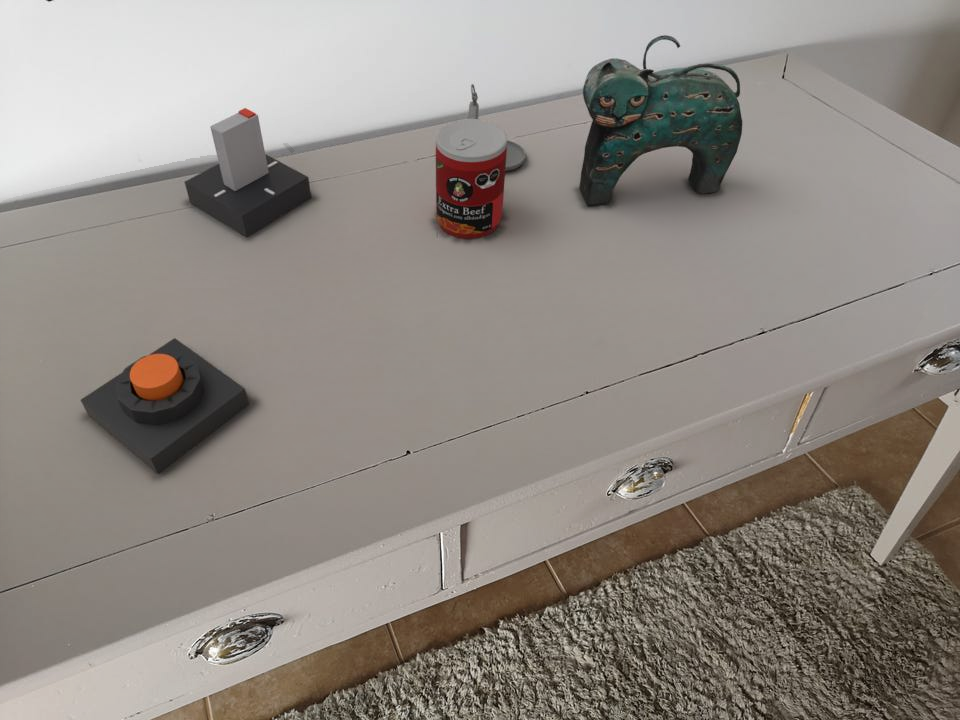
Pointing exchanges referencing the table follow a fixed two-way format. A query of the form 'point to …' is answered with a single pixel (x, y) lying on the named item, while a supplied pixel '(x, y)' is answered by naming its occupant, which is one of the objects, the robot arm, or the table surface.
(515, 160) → the pocket watch
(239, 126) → the dial
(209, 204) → the dial panel
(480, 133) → the canned food
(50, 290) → the table surface
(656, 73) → the ceramic cat
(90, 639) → the table surface
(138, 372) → the power button
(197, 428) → the dark square piece
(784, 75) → the table surface
